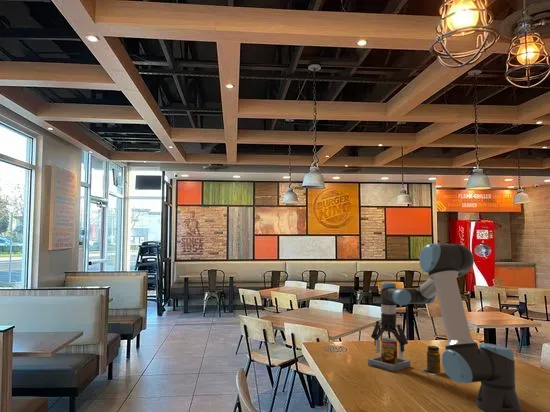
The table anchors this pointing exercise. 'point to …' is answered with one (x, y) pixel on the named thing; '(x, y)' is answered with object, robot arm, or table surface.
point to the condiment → (433, 361)
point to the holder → (389, 367)
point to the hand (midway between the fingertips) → (389, 355)
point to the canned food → (389, 350)
